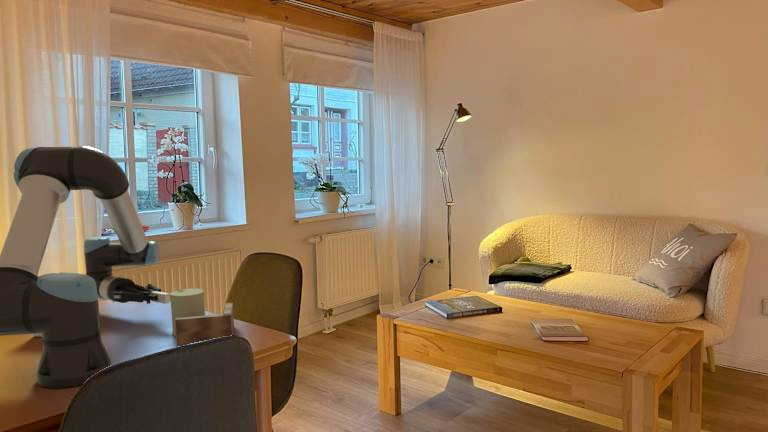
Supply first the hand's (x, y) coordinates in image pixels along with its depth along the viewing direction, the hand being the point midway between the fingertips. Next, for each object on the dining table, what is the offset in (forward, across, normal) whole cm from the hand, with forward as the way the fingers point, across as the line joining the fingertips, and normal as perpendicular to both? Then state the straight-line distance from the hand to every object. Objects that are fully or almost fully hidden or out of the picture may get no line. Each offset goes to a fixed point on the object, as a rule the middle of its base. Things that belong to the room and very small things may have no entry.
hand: (167, 298), depth 171 cm
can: (+9, 0, -9) cm, 13 cm away
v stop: (+21, 0, -8) cm, 22 cm away
